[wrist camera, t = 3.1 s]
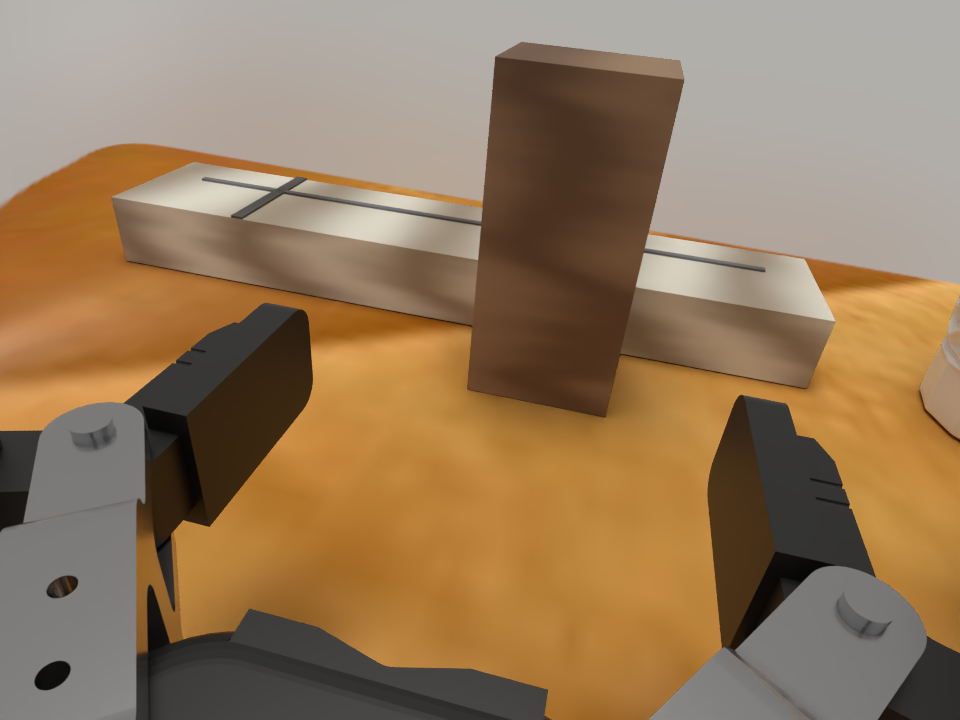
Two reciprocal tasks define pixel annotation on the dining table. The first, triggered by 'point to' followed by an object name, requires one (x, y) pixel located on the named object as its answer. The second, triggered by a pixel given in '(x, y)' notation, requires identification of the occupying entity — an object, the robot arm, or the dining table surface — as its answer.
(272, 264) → the batten
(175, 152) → the dining table surface
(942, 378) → the white cup
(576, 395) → the upright wooden pillar
